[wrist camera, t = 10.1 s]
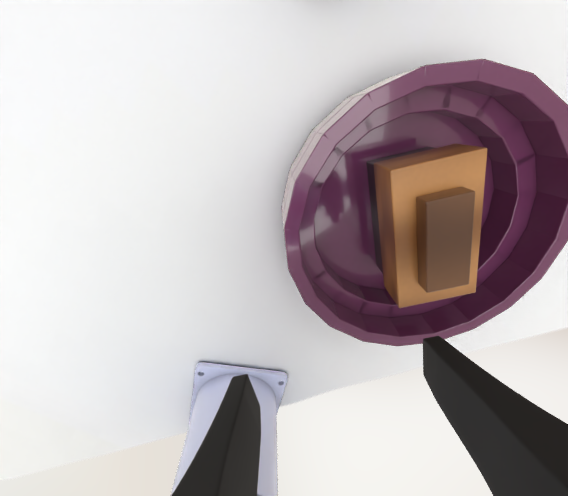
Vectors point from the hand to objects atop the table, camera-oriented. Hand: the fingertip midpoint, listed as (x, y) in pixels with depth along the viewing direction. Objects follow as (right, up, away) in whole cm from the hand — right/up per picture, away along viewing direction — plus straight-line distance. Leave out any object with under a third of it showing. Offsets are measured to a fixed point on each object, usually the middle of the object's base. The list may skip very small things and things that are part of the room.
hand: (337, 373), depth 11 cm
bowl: (+5, +8, +8) cm, 12 cm away
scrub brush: (+5, +8, +7) cm, 12 cm away
